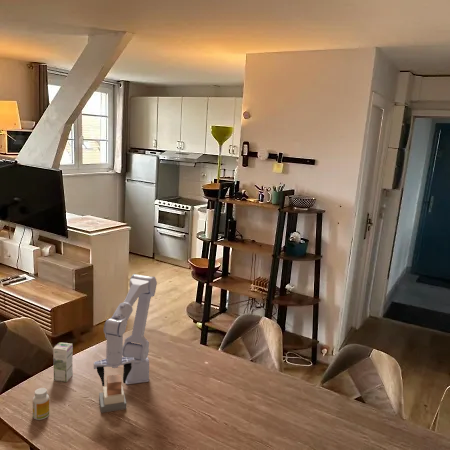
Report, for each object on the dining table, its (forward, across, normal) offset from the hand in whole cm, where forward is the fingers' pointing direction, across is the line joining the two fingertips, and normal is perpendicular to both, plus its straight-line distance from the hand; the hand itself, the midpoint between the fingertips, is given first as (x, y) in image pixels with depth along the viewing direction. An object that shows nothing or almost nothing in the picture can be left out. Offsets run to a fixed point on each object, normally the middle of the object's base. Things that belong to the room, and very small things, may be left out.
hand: (113, 383), depth 157 cm
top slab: (+6, 0, 0) cm, 6 cm away
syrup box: (+9, -18, +22) cm, 30 cm away
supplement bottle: (+9, -25, -1) cm, 26 cm away
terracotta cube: (+3, 0, 0) cm, 3 cm away
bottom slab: (+9, 0, 0) cm, 9 cm away
